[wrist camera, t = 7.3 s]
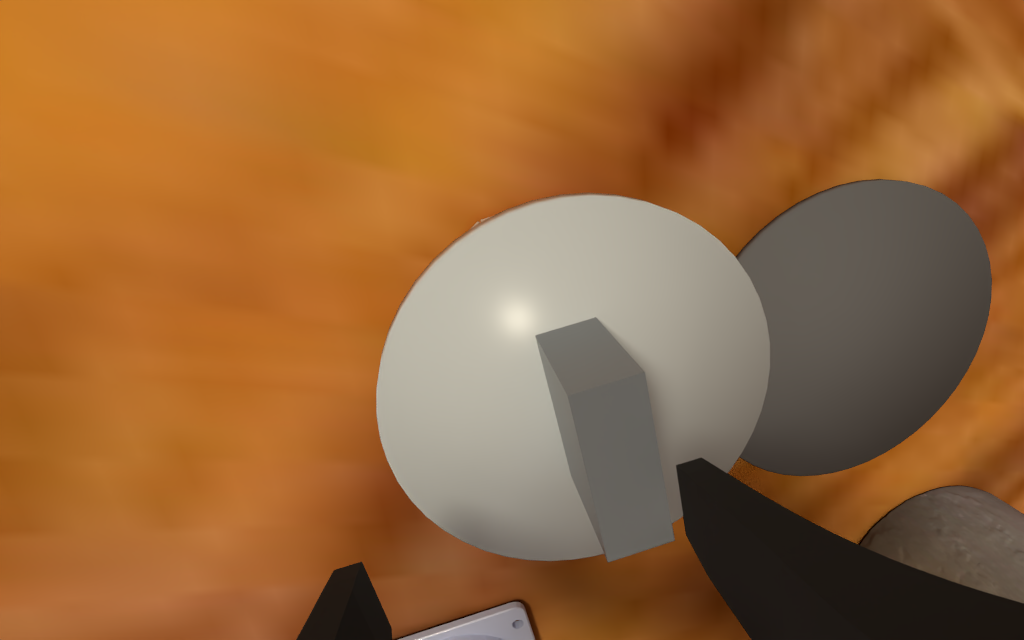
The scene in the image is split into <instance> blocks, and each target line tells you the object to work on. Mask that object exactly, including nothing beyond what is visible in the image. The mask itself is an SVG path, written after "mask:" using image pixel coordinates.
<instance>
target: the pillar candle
mask: <svg viewBox="0 0 1024 640" xmlns="http://www.w3.org/2000/svg"><path fill="white" fill-rule="evenodd" d="M860 546H862V547H865V548H867V549H869V550H872V551H874V552H876V553H879V554H881V555H883V556H886V557H888V558H890V559H893V560H895V561H898V562H900V563H903V564H906V565H908V566H911V567H913V568H916V569H919V570H922V571H925V572H927V573H930V574H933V575H936V576H938V577H941V578H944V579H947V580H950V581H952V582H955V583H958V584H962V585H965V586H968V587H971V588H974V589H977V590H980V591H983V592H987V593H990V594H993V595H997V596H1000V597H1004V598H1007V599H1010V600H1014V601H1017V602H1021V603H1024V514H1022V513H1021V512H1019V511H1018V510H1016V509H1015V508H1013V507H1011V506H1010V505H1008V504H1007V503H1005V502H1003V501H1002V500H1000V499H998V498H997V497H995V496H994V495H992V494H990V493H988V492H985V491H982V490H979V489H976V488H972V487H966V486H949V487H941V488H938V489H934V490H931V491H927V492H926V493H924V494H921V495H918V496H915V497H913V498H911V499H909V500H907V501H905V502H904V503H903V504H901V505H900V506H898V507H897V508H895V509H894V510H892V511H891V512H890V513H889V514H888V515H887V516H886V517H884V518H883V519H882V520H881V521H880V522H878V523H877V524H876V525H875V527H873V528H872V529H871V530H870V532H869V533H868V534H867V536H866V537H865V538H864V540H863V541H862V543H861V544H860Z"/></svg>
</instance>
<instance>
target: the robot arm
mask: <svg viewBox="0 0 1024 640" xmlns="http://www.w3.org/2000/svg"><path fill="white" fill-rule="evenodd" d="M676 470H677V477H678V484H679V490H680V497H681V504H682V511H683V517H684V524H685V531H686V535H687V537H688V539H689V541H690V543H691V545H692V547H693V549H694V551H695V553H696V555H697V556H698V558H699V560H700V562H701V564H702V566H703V567H704V569H705V571H706V573H707V575H708V577H709V578H710V580H711V581H712V583H713V584H714V586H715V587H716V588H717V590H718V591H719V593H720V594H721V596H722V597H723V599H724V600H725V602H726V603H727V605H728V606H729V607H730V609H731V610H732V612H733V613H734V615H735V616H736V618H737V619H738V620H739V622H740V623H741V625H742V626H743V628H744V629H745V631H746V632H747V633H748V635H749V636H750V638H751V639H752V640H1024V603H1021V602H1017V601H1014V600H1010V599H1007V598H1004V597H1000V596H997V595H993V594H990V593H987V592H983V591H980V590H977V589H974V588H971V587H968V586H965V585H962V584H958V583H955V582H952V581H950V580H947V579H944V578H941V577H938V576H936V575H933V574H930V573H927V572H925V571H922V570H919V569H916V568H913V567H911V566H908V565H906V564H903V563H900V562H898V561H895V560H893V559H890V558H888V557H886V556H883V555H881V554H879V553H876V552H874V551H872V550H869V549H867V548H865V547H862V546H860V545H858V544H855V543H853V542H851V541H849V540H847V539H844V538H842V537H840V536H838V535H836V534H834V533H832V532H830V531H828V530H826V529H824V528H822V527H820V526H818V525H816V524H814V523H812V522H810V521H808V520H806V519H804V518H802V517H801V516H799V515H797V514H795V513H793V512H791V511H790V510H788V509H786V508H784V507H783V506H781V505H779V504H777V503H776V502H774V501H772V500H770V499H769V498H767V497H765V496H763V495H762V494H760V493H758V492H757V491H755V490H753V489H752V488H750V487H748V486H747V485H745V484H744V483H742V482H740V481H739V480H737V479H735V478H734V477H732V476H731V475H729V474H727V473H726V472H724V471H723V470H721V469H719V468H718V467H716V466H715V465H713V464H711V463H710V462H708V461H706V460H705V459H703V458H698V459H695V460H691V461H688V462H685V463H682V464H678V465H676ZM516 620H519V621H516ZM296 640H392V629H391V626H390V624H389V621H388V619H387V617H386V615H385V612H384V610H383V608H382V606H381V603H380V601H379V599H378V597H377V595H376V592H375V590H374V588H373V586H372V583H371V581H370V579H369V577H368V574H367V572H366V570H365V568H364V565H363V563H362V562H359V563H356V564H353V565H349V566H346V567H343V568H340V569H336V570H334V571H333V573H332V575H331V577H330V578H329V580H328V582H327V584H326V586H325V587H324V589H323V591H322V593H321V595H320V597H319V599H318V601H317V602H316V604H315V606H314V608H313V610H312V612H311V614H310V616H309V617H308V619H307V621H306V623H305V625H304V627H303V629H302V630H301V632H300V634H299V636H298V638H297V639H296ZM398 640H535V637H534V634H533V631H532V628H531V625H530V622H529V619H528V616H527V613H526V610H525V607H524V605H523V604H522V603H520V602H511V603H507V604H504V605H501V606H498V607H495V608H492V609H489V610H486V611H483V612H480V613H477V614H474V615H471V616H468V617H465V618H462V619H459V620H456V621H453V622H450V623H447V624H444V625H441V626H437V627H434V628H431V629H428V630H425V631H422V632H419V633H416V634H413V635H410V636H407V637H404V638H401V639H398Z"/></svg>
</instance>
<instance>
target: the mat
mask: <svg viewBox="0 0 1024 640" xmlns="http://www.w3.org/2000/svg"><path fill="white" fill-rule="evenodd" d="M736 258H737V260H738V261H739V263H740V264H741V266H742V267H743V269H744V270H745V272H746V273H747V274H748V276H749V277H750V279H751V281H752V283H753V286H754V288H755V290H756V292H757V294H758V296H759V298H760V301H761V304H762V307H763V311H764V314H765V317H766V321H767V327H768V334H769V341H770V371H769V378H768V386H767V391H766V395H765V399H764V403H763V407H762V411H761V413H760V416H759V418H758V421H757V423H756V426H755V428H754V431H753V433H752V435H751V437H750V439H749V441H748V442H747V444H746V446H745V448H744V450H743V452H742V453H741V455H740V456H739V457H741V458H742V459H744V460H746V461H747V462H749V463H751V464H752V465H754V466H757V467H759V468H762V469H764V470H767V471H771V472H775V473H779V474H784V475H795V476H811V475H821V474H828V473H834V472H838V471H841V470H845V469H849V468H852V467H854V466H857V465H860V464H862V463H865V462H867V461H869V460H871V459H873V458H875V457H877V456H879V455H881V454H883V453H885V452H887V451H888V450H890V449H892V448H893V447H895V446H896V445H898V444H900V443H901V442H902V441H904V440H905V439H906V438H908V437H909V436H910V435H912V434H913V433H914V432H916V431H917V430H918V429H919V428H920V427H921V426H922V425H924V424H925V423H926V422H927V421H928V420H929V419H930V418H931V417H932V416H933V415H934V414H935V413H936V412H937V411H938V410H939V409H940V407H941V406H942V405H943V404H944V403H945V402H946V400H947V399H948V398H949V397H950V395H951V394H952V393H953V391H954V390H955V389H956V388H957V386H958V384H959V383H960V381H961V380H962V378H963V377H964V375H965V373H966V372H967V370H968V368H969V366H970V364H971V362H972V360H973V358H974V357H975V355H976V352H977V350H978V347H979V345H980V342H981V340H982V337H983V334H984V331H985V327H986V323H987V320H988V316H989V309H990V303H991V286H992V278H991V269H990V261H989V257H988V254H987V250H986V246H985V244H984V241H983V239H982V237H981V235H980V233H979V230H978V229H977V227H976V226H975V224H974V223H973V221H972V220H971V218H970V217H969V215H968V214H967V213H966V212H965V211H964V210H963V209H962V208H961V207H960V206H959V205H958V204H957V203H955V202H954V201H952V200H951V199H949V198H948V197H946V196H945V195H943V194H942V193H940V192H937V191H935V190H933V189H931V188H928V187H926V186H922V185H918V184H914V183H910V182H905V181H896V180H883V179H876V180H863V181H856V182H851V183H847V184H842V185H838V186H835V187H832V188H830V189H827V190H824V191H821V192H819V193H816V194H814V195H812V196H810V197H808V198H806V199H804V200H802V201H800V202H798V203H797V204H795V205H794V206H792V207H791V208H789V209H787V210H786V211H784V212H783V213H781V214H780V215H778V216H777V217H776V218H775V219H773V220H772V221H771V222H770V223H769V224H767V225H766V226H765V227H764V228H763V229H761V230H760V231H759V232H758V233H757V234H756V235H755V236H754V237H753V238H752V239H751V240H750V241H749V242H748V243H747V244H746V245H745V247H744V248H743V249H742V250H741V251H740V252H739V254H738V255H737V256H736Z"/></svg>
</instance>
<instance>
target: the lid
mask: <svg viewBox="0 0 1024 640" xmlns="http://www.w3.org/2000/svg"><path fill="white" fill-rule="evenodd" d="M769 371H770V341H769V334H768V327H767V321H766V317H765V314H764V311H763V307H762V304H761V301H760V298H759V296H758V294H757V292H756V290H755V288H754V286H753V283H752V281H751V279H750V277H749V276H748V274H747V273H746V272H745V270H744V269H743V267H742V266H741V264H740V263H739V261H738V260H737V258H736V257H735V256H734V255H733V254H732V253H731V252H730V251H729V250H728V249H727V248H726V247H725V246H724V245H723V244H722V243H721V242H720V241H719V240H718V239H717V238H716V237H714V236H713V235H712V234H710V233H709V232H708V231H706V230H705V229H704V228H703V227H701V226H700V225H698V224H696V223H694V222H693V221H691V220H689V219H687V218H685V217H684V216H682V215H680V214H678V213H676V212H673V211H670V210H668V209H665V208H662V207H659V206H657V205H654V204H651V203H648V202H646V201H643V200H640V199H635V198H630V197H625V196H621V195H616V194H602V193H575V194H562V195H556V196H551V197H546V198H542V199H537V200H532V201H529V202H526V203H524V204H521V205H518V206H515V207H512V208H510V209H507V210H504V211H502V212H500V213H498V214H496V215H494V216H492V217H490V218H488V219H487V220H485V221H483V222H481V223H479V224H477V225H476V226H474V227H473V228H471V229H470V230H469V231H467V232H466V233H464V234H463V235H461V236H460V237H458V238H457V239H455V240H454V241H453V242H452V243H451V244H450V245H449V246H448V247H446V248H445V249H444V250H443V251H442V252H441V253H440V254H439V255H438V256H436V257H435V258H434V259H433V260H432V262H431V263H430V264H429V265H428V266H427V267H426V269H425V270H424V271H423V272H422V273H421V274H420V276H419V277H418V278H417V279H416V280H415V282H414V283H413V285H412V287H411V288H410V290H409V291H408V293H407V294H406V296H405V297H404V299H403V301H402V302H401V304H400V306H399V308H398V310H397V312H396V315H395V317H394V319H393V321H392V323H391V325H390V328H389V331H388V334H387V338H386V341H385V344H384V348H383V351H382V356H381V362H380V369H379V376H378V383H377V420H378V427H379V433H380V439H381V442H382V445H383V448H384V451H385V455H386V458H387V461H388V463H389V465H390V467H391V469H392V471H393V473H394V475H395V477H396V479H397V481H398V483H399V484H400V485H401V487H402V488H403V490H404V491H405V492H406V494H407V495H408V497H409V498H410V500H411V501H412V502H413V503H414V504H415V505H416V506H417V507H418V508H419V509H420V510H421V511H422V512H423V513H424V514H425V515H426V516H427V517H428V518H429V519H430V520H432V521H433V522H434V523H435V524H437V525H438V526H439V527H441V528H442V529H443V530H444V531H446V532H448V533H450V534H451V535H453V536H455V537H456V538H458V539H460V540H461V541H463V542H466V543H468V544H470V545H473V546H475V547H477V548H480V549H482V550H485V551H488V552H492V553H495V554H499V555H502V556H506V557H513V558H519V559H525V560H540V561H558V560H573V559H579V558H585V557H591V556H597V555H600V554H605V557H606V559H607V561H608V562H611V561H614V560H617V559H620V558H623V557H626V556H629V555H632V554H635V553H638V552H642V551H645V550H648V549H651V548H654V547H657V546H660V545H663V544H666V543H669V542H672V541H675V539H674V533H673V528H672V523H674V522H675V521H677V520H678V519H680V518H681V517H682V516H683V511H682V504H681V497H680V490H679V484H678V477H677V470H676V465H678V464H682V463H685V462H688V461H691V460H695V459H698V458H703V459H705V460H706V461H708V462H710V463H711V464H713V465H715V466H716V467H718V468H719V469H721V470H723V471H724V472H726V473H728V472H729V471H730V469H731V468H732V466H733V465H734V464H735V462H736V461H737V459H738V458H739V456H740V455H741V453H742V452H743V450H744V448H745V446H746V444H747V442H748V441H749V439H750V437H751V435H752V433H753V431H754V428H755V426H756V423H757V421H758V418H759V416H760V413H761V411H762V407H763V403H764V399H765V395H766V391H767V386H768V378H769Z"/></svg>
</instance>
